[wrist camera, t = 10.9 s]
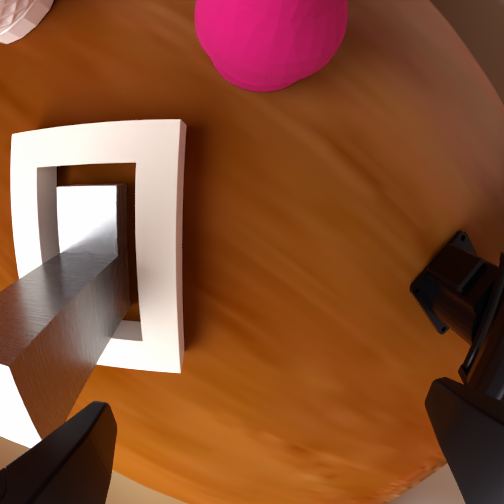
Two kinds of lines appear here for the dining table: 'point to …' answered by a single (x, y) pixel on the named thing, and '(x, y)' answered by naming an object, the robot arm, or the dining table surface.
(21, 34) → the white cup
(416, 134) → the dining table surface
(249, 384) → the dining table surface
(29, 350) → the grey block
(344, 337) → the dining table surface
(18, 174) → the block
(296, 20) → the pepper mill
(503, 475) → the robot arm
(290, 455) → the dining table surface
